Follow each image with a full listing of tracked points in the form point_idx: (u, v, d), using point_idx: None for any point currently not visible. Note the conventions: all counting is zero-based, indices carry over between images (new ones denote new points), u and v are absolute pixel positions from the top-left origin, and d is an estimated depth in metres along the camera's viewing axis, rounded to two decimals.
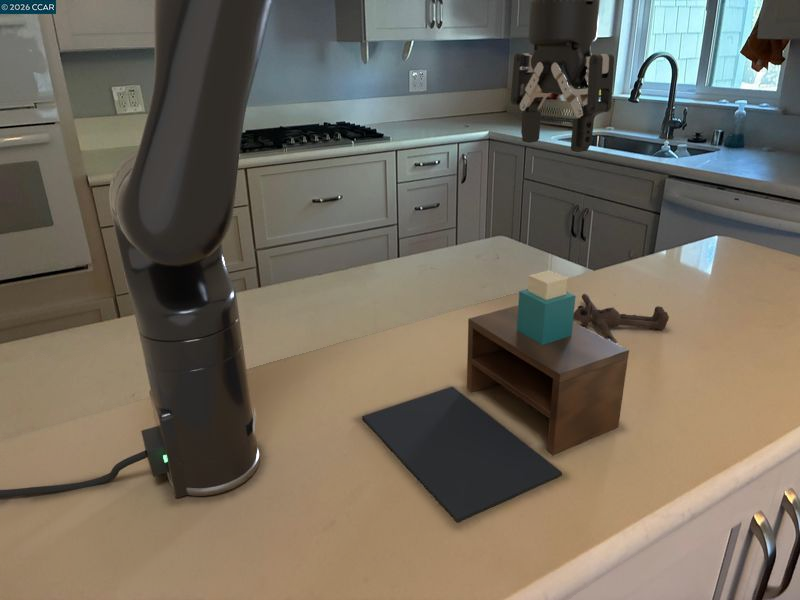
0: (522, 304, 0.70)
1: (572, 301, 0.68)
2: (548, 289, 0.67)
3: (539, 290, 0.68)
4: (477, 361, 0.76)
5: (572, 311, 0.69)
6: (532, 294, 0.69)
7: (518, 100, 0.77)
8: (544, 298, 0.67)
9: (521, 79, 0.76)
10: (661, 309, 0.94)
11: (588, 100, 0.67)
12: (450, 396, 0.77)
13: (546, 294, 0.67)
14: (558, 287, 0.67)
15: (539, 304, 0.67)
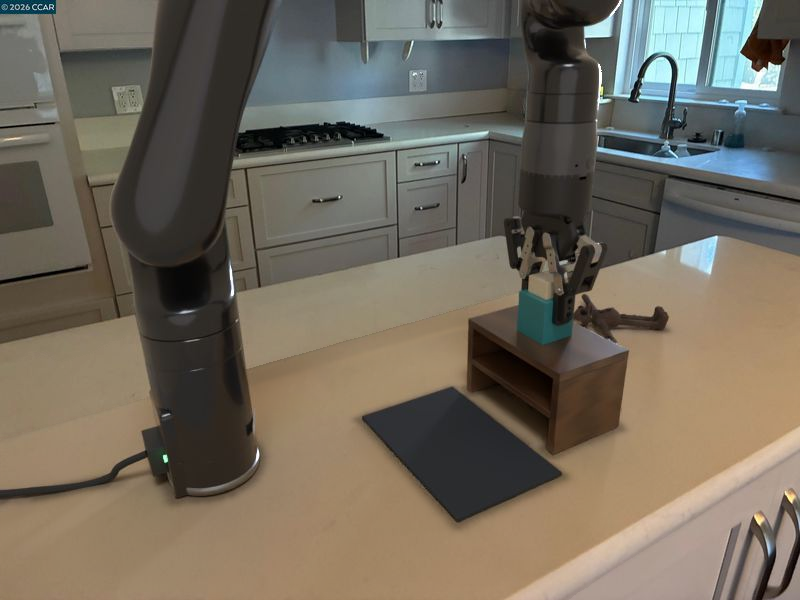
0: (522, 304, 0.70)
1: None
2: (548, 289, 0.67)
3: (539, 290, 0.68)
4: (477, 361, 0.76)
5: None
6: (532, 294, 0.69)
7: (517, 264, 0.71)
8: (544, 298, 0.67)
9: (516, 242, 0.71)
10: (661, 309, 0.94)
11: (570, 281, 0.64)
12: (450, 396, 0.77)
13: (546, 294, 0.67)
14: None
15: (539, 304, 0.67)
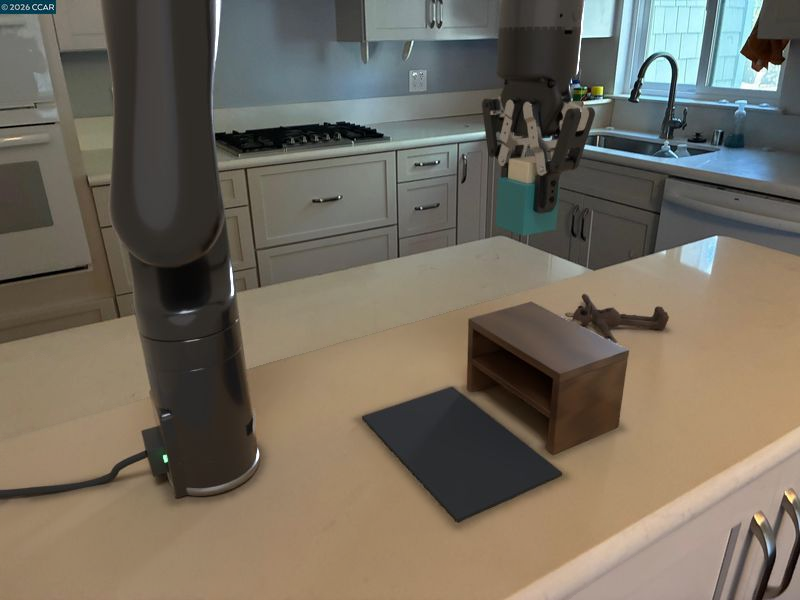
0: (501, 192, 0.63)
1: None
2: (529, 171, 0.60)
3: (520, 173, 0.61)
4: (477, 361, 0.76)
5: None
6: (512, 180, 0.62)
7: (496, 150, 0.64)
8: (525, 182, 0.60)
9: (495, 126, 0.64)
10: (661, 309, 0.94)
11: (553, 155, 0.57)
12: (450, 396, 0.77)
13: (527, 176, 0.60)
14: None
15: (519, 188, 0.60)
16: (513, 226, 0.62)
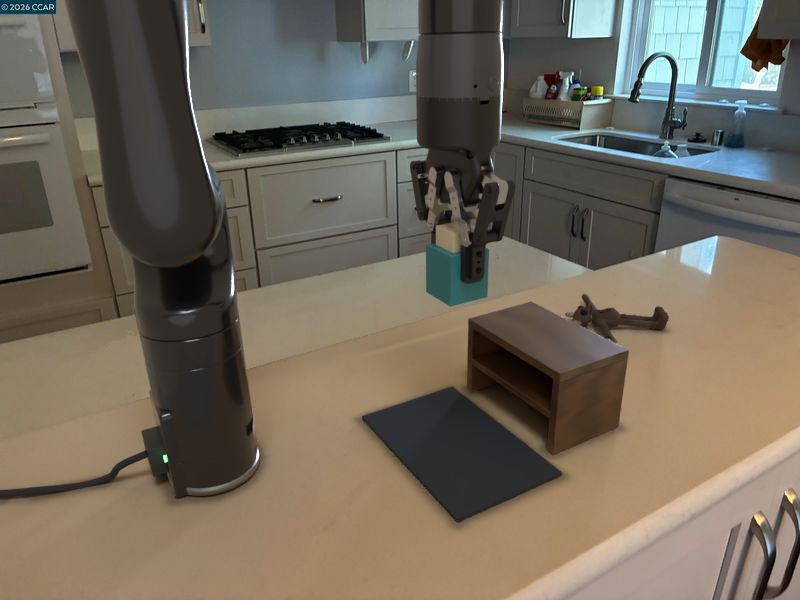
0: (429, 260, 0.60)
1: (486, 255, 0.58)
2: (454, 240, 0.57)
3: (446, 242, 0.58)
4: (477, 361, 0.76)
5: (486, 267, 0.59)
6: (440, 247, 0.59)
7: (425, 214, 0.61)
8: (451, 251, 0.57)
9: (423, 189, 0.61)
10: (661, 309, 0.94)
11: (475, 228, 0.54)
12: (450, 396, 0.77)
13: (453, 246, 0.57)
14: None
15: (444, 258, 0.57)
16: (441, 295, 0.59)
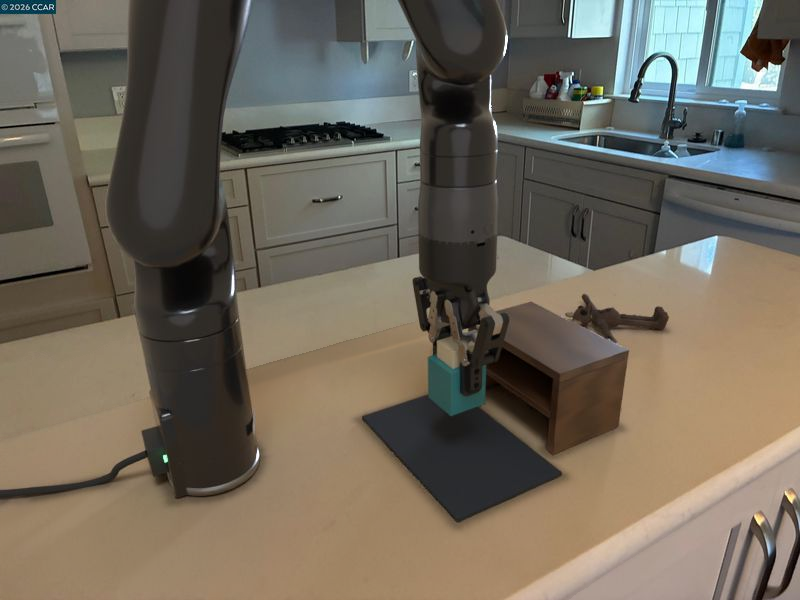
0: (430, 370, 0.65)
1: (483, 369, 0.63)
2: (454, 358, 0.62)
3: (446, 357, 0.63)
4: None
5: (483, 379, 0.64)
6: (441, 360, 0.64)
7: (427, 326, 0.66)
8: (451, 367, 0.62)
9: (425, 303, 0.66)
10: (661, 309, 0.94)
11: (473, 352, 0.59)
12: None
13: (453, 363, 0.62)
14: None
15: (445, 373, 0.62)
16: (442, 404, 0.64)
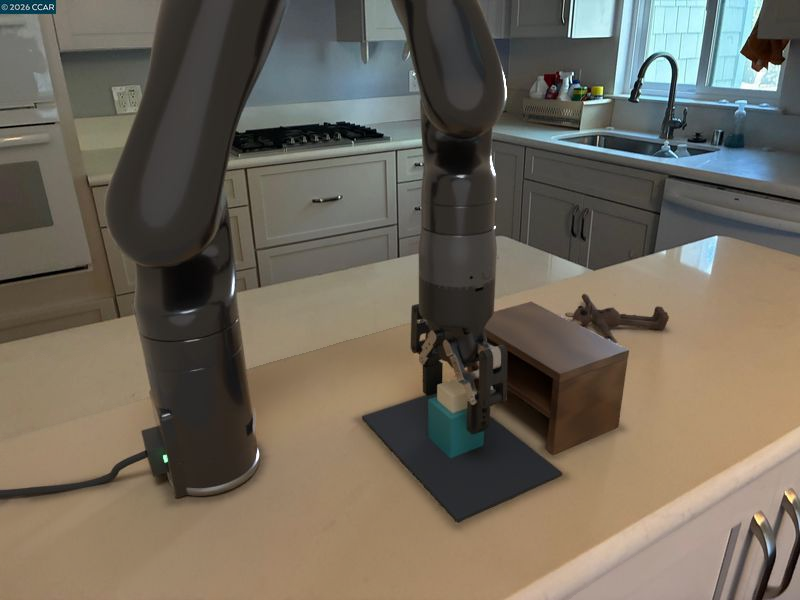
0: (431, 413, 0.67)
1: None
2: (454, 403, 0.64)
3: (446, 402, 0.65)
4: None
5: None
6: (441, 404, 0.66)
7: (418, 350, 0.69)
8: (451, 411, 0.64)
9: (420, 330, 0.68)
10: (661, 309, 0.94)
11: (479, 392, 0.59)
12: None
13: (452, 407, 0.64)
14: (465, 399, 0.65)
15: (445, 417, 0.64)
16: (442, 446, 0.66)
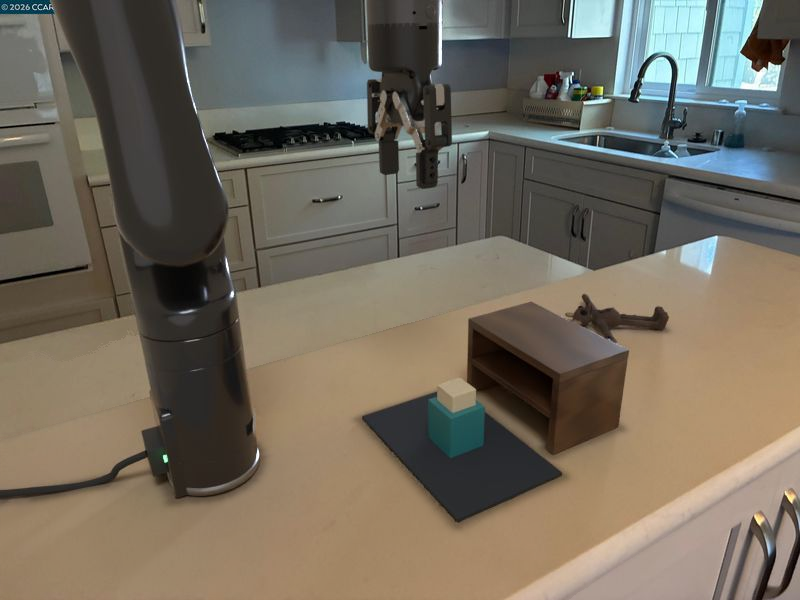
0: (431, 413, 0.67)
1: (482, 412, 0.65)
2: (454, 403, 0.64)
3: (446, 402, 0.65)
4: (477, 361, 0.76)
5: (482, 422, 0.66)
6: (441, 404, 0.66)
7: (374, 129, 0.71)
8: (451, 411, 0.64)
9: (375, 107, 0.70)
10: (661, 309, 0.94)
11: (425, 134, 0.61)
12: None
13: (452, 407, 0.64)
14: (465, 399, 0.65)
15: (445, 417, 0.64)
16: (442, 446, 0.66)
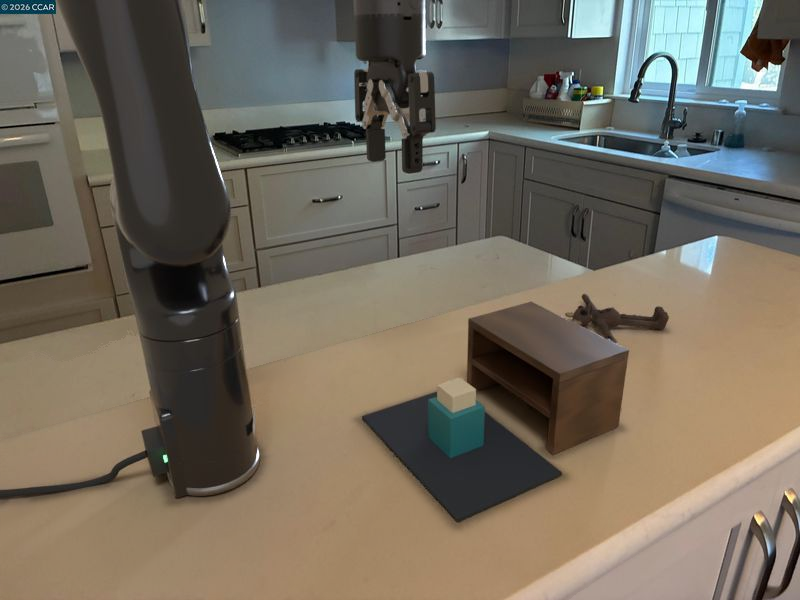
0: (431, 413, 0.67)
1: (482, 412, 0.65)
2: (454, 403, 0.64)
3: (446, 402, 0.65)
4: (477, 361, 0.76)
5: (482, 422, 0.66)
6: (441, 404, 0.66)
7: (361, 117, 0.73)
8: (451, 411, 0.64)
9: (362, 96, 0.72)
10: (661, 309, 0.94)
11: (410, 120, 0.64)
12: None
13: (452, 407, 0.64)
14: (465, 399, 0.65)
15: (445, 417, 0.64)
16: (442, 446, 0.66)
